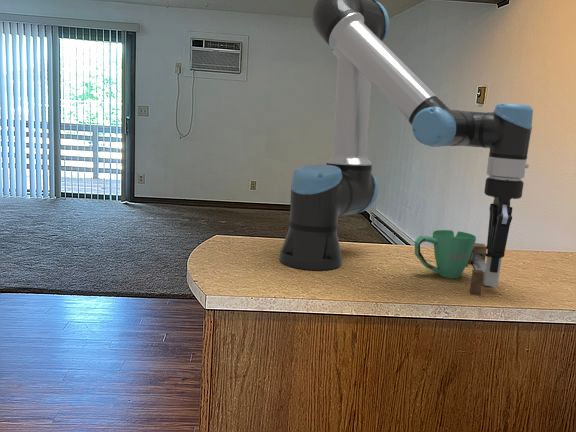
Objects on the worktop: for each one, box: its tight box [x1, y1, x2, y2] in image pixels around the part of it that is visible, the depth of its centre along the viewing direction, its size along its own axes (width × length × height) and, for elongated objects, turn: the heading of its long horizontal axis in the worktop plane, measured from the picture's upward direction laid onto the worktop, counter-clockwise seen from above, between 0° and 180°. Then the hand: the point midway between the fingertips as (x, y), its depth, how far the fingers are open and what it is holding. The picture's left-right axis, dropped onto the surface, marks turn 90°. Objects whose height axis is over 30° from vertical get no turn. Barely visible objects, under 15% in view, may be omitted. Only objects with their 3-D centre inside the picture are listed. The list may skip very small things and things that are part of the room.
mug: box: [414, 229, 477, 279], centre depth 133 cm, size 15×10×10 cm
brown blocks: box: [465, 242, 487, 297], centre depth 134 cm, size 7×32×5 cm, turn 169°
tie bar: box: [471, 253, 486, 286], centre depth 139 cm, size 2×26×2 cm, turn 169°
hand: (490, 285), depth 123 cm, fingers closed
